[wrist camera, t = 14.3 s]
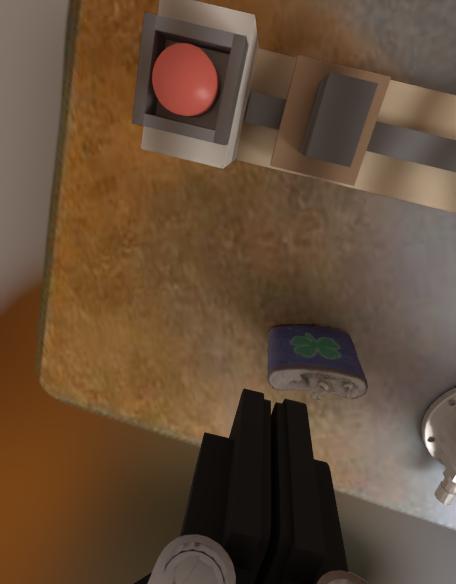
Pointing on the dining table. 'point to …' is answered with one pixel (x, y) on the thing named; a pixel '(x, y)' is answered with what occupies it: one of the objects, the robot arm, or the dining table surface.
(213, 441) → the robot arm
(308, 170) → the carriage
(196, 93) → the red dome button
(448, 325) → the dining table surface
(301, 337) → the flask
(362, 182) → the rail
